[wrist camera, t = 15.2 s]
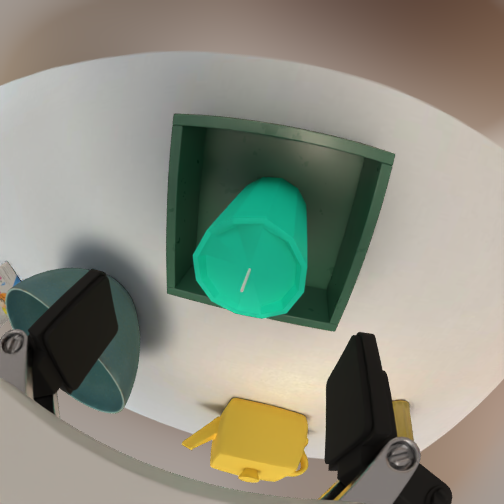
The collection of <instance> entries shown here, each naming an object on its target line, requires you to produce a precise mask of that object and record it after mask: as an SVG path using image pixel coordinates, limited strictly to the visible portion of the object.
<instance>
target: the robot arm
mask: <svg viewBox="0 0 504 504" xmlns="http://www.w3.org/2000/svg"><path fill="white" fill-rule="evenodd" d="M28 332H29V335H28V336H27V335H26V333H25V332H24V331H23V330H20V329H13V330H10V331H8V332H6V333H5V334H4V335H3V336H2V338H1V339H0V504H451V501H452V492H451V490H450V488H449V487H448V486H447V485H446V484H445V483H444V482H442V481H441V480H440V479H439V478H437V477H436V476H435V475H433V474H432V473H431V472H430V471H428V470H427V469H426V468H425V467H424V466H422V465H421V464H420V463H419V462H420V450H419V448H418V446H417V444H416V443H415V442H414V441H413V440H411V439H409V438H407V437H397V429H396V422H395V416H394V409H393V403H392V398H391V392H390V387H389V382H388V377H387V374H386V372H385V371H383V370H382V366H381V361H380V356H379V352H378V347H377V343H376V338H375V335H374V334H369V333H363V332H358V333H357V335H353V336H352V337H351V339H350V340H349V342H348V344H347V346H346V348H345V350H344V352H343V354H342V355H341V357H340V359H339V361H338V363H337V364H336V366H335V368H334V370H333V371H332V373H331V375H330V377H329V378H328V381H327V384H326V440H325V463H326V464H329V470H330V471H338V477H337V478H338V481H336V483H334V484H333V485H332V486H331V487H330V488H329V490H327V491H326V492H325V493H324V494H323V495H322V496H321V497H320V498H319V499H300V498H288V497H279V496H271V495H264V494H257V493H251V492H244V491H239V490H234V489H229V488H224V487H220V486H216V485H212V484H207V483H204V482H200V481H197V480H193V479H190V478H186V477H183V476H180V475H177V474H174V473H171V472H168V471H165V470H163V469H160V468H157V467H154V466H152V465H149V464H147V463H144V462H142V461H139V460H137V459H135V458H132V457H130V456H128V455H126V454H123V453H121V452H119V451H117V450H115V449H113V448H111V447H109V446H107V445H105V444H103V443H101V442H99V441H97V440H95V439H94V438H92V437H90V436H88V435H86V434H84V433H83V432H81V431H79V430H78V429H76V428H74V427H73V426H71V425H70V424H68V423H66V422H65V421H63V420H61V419H60V413H59V406H58V396H57V391H58V389H59V388H60V389H61V390H63V391H64V392H66V393H68V394H69V395H71V393H72V392H73V390H77V389H78V388H79V386H80V385H81V383H82V382H83V380H84V379H85V377H86V376H87V374H88V373H89V372H90V370H91V369H92V367H93V366H94V364H95V363H96V362H97V360H98V359H99V357H100V356H101V355H102V353H103V352H104V350H105V349H106V348H107V346H108V345H109V344H110V342H111V341H112V339H113V338H114V337H115V335H116V334H117V332H118V322H117V318H116V313H115V308H114V303H113V298H112V293H111V288H110V282H109V278H108V277H107V275H106V274H105V273H104V272H102V271H99V270H95V269H91V270H90V271H88V272H87V273H86V274H85V275H84V276H83V277H82V278H81V279H79V280H78V281H77V282H76V283H75V284H74V285H73V286H72V287H71V288H70V289H69V290H67V291H66V292H65V293H64V294H63V295H62V296H61V297H60V298H59V299H58V300H57V301H56V302H55V303H54V304H53V305H52V306H51V307H50V308H49V309H48V310H47V311H46V312H45V313H44V314H43V315H42V316H41V317H40V318H39V319H38V320H37V321H36V322H35V323H34V324H33V325H32V326H31V327H30V328H29V329H28Z"/></svg>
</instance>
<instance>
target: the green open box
mask: <svg viewBox="0 0 504 504" xmlns="http://www.w3.org/2000/svg"><path fill="white" fill-rule="evenodd" d="M394 158H395V154H393V153H390V152H388V151H385V150H382V149H379V148H376V147H373V146H369V145H366V144H362V143H359V142H355V141H352V140H348V139H344V138H340V137H336V136H332V135H328V134H324V133H319V132H315V131H310V130H306V129H301V128H296V127H290V126H285V125H279V124H274V123H267V122H261V121H254V120H247V119H239V118H230V117H221V116H210V115H196V114H174V116H173V127H172V137H171V148H170V160H169V175H168V194H167V227H166V268H167V293H168V294H171V295H175V296H178V297H182V298H186V299H189V300H193V301H197V302H201V303H204V304H208V305H212V306H216V307H220V308H223V307H221V306H220V305H218V304H216V303H214V302H212V301H211V300H210V299H209V297H208V296H207V295H206V293H205V292H204V290H203V289H202V288H201V286H200V285H199V284H198V282H197V281H196V277H195V270H194V263H193V254H194V252H195V250H196V248H197V247H198V245H199V243H200V241H201V239H202V238H203V236H204V234H205V232H206V231H207V229H208V228H209V227H210V226H211V225H212V223H213V222H214V221H215V220H216V219H217V218H218V217H219V216H220V214H221V213H222V212H223V211H224V210H225V209H226V208H227V207H228V205H229V204H230V203H231V202H232V201H233V200H234V199H235V198H236V197H237V196H238V194H239V193H240V192H241V191H242V190H243V189H244V188H245V187H246V186H247V185H248V184H250V183H252V182H254V181H256V180H258V179H260V178H262V177H272V178H283V179H284V180H286V181H287V182H289V183H290V184H292V185H294V186H295V187H297V188H298V189H299V191H300V193H301V195H302V197H303V199H304V201H305V203H306V210H307V273H306V281H305V289H304V293H303V294H302V295H301V297H300V298H299V299H298V300H297V301H296V303H295V304H294V305H293V306H292V307H291V309H290V310H289V311H288V312H287V313H286V314H281V315H277V316H272V317H267V319H272V320H277V321H282V322H286V323H291V324H296V325H301V326H307V327H312V328H317V329H323V330H328V331H335V330H336V328H337V326H338V324H339V321H340V319H341V317H342V314H343V312H344V310H345V307H346V305H347V303H348V300H349V298H350V295H351V293H352V290H353V288H354V285H355V283H356V280H357V277H358V275H359V272H360V269H361V267H362V264H363V261H364V259H365V256H366V253H367V250H368V247H369V244H370V241H371V238H372V235H373V232H374V229H375V226H376V223H377V220H378V216H379V213H380V210H381V206H382V203H383V200H384V196H385V193H386V189H387V185H388V181H389V178H390V174H391V170H392V165H393V162H394ZM224 309H225V308H224Z"/></svg>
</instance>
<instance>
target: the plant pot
mask: <svg viewBox="0 0 504 504" xmlns="http://www.w3.org/2000/svg"><path fill="white" fill-rule="evenodd" d="M88 271H90V270H87V269H81V268H63V269H56V270H50V271H46V272H43V273H40V274H37V275H34V276H32V277H30V278H27V279H25V280H23V281H21V282H20V283H18V284H16V285H15V286H13V287H12V288H11V289H9V290H8V291H7V293H6V297H5V305H6V311H7V315H8V318H9V321H10V323H11V326H12V328H13V329H20V330H23V331H24V332H25V333H26V335H27V336H28V335H29V332H28V329H29V328H30V327H31V326H32V325H33V324H34V323H35V322H36V321H37V320H38V319H39V318H40V317H41V316H42V315H43V314H44V313H45V312H46V311H47V310H48V309H49V308H50V307H51V306H52V305H53V304H54V303H55V302H56V301H57V300H58V299H59V298H60V297H61V296H62V295H63V294H64V293H65V292H66V291H67V290H69V289H70V288H71V287H72V286H73V285H74V284H75V283H76V282H77V281H78V280H79V279H81V278H82V277H83V276H84V275H85V274H86V273H87V272H88ZM107 277H108V278H109V282H110V288H111V293H112V298H113V303H114V308H115V313H116V318H117V322H118V332H117V334H116V335H115V337H114V338H113V339H112V341H111V342H110V344H109V345H108V346H107V348H106V349H105V350H104V352H103V353H102V355H101V356H100V357H99V359H98V360H97V362H96V363H95V364H94V366H93V367H92V369H91V370H90V372H89V373H88V374H87V376H86V377H85V379H84V380H83V382H82V383H81V385H80V386H79V388H78V389H77V390H73V392H72V393H71V395H70V396H72V397H73V398H74V399H76V400H77V401H79V402H81V403H83V404H85V405H86V406H88V407H91V408H93V409H96V410H98V411H101V412H106V413H119V412H121V411H122V410H123V409H124V407H125V405H126V403H127V401H128V398H129V396H130V393H131V390H132V388H133V384H134V381H135V377H136V373H137V369H138V362H139V353H140V333H139V325H138V319H137V314H136V310H135V306H134V304H133V301H132V299H131V297H130V295H129V294H128V292H127V291H126V290H125V289H124V287H123V286H122V285H121V284H120V283H119V282H117V281H116V280H115V279H113V278H112V277H110V276H108V275H107ZM67 394H68V393H67ZM68 395H69V394H68Z"/></svg>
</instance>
